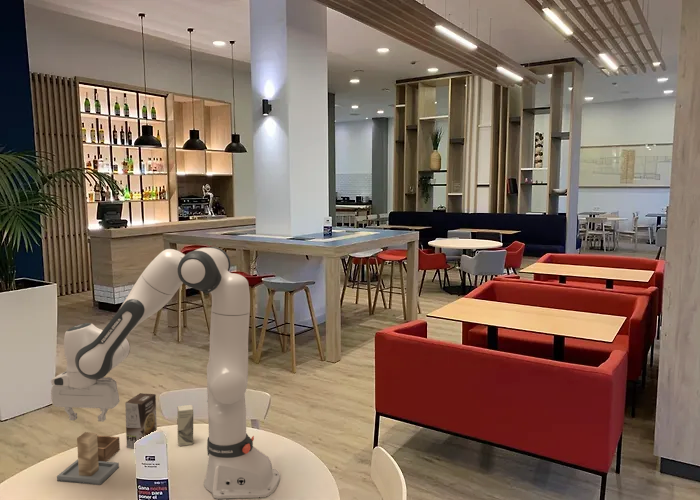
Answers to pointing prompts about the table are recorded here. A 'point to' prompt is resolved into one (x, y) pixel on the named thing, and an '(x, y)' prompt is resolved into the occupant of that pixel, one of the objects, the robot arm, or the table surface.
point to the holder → (107, 447)
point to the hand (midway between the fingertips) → (87, 420)
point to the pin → (87, 454)
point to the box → (185, 425)
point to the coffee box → (140, 417)
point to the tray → (97, 478)
